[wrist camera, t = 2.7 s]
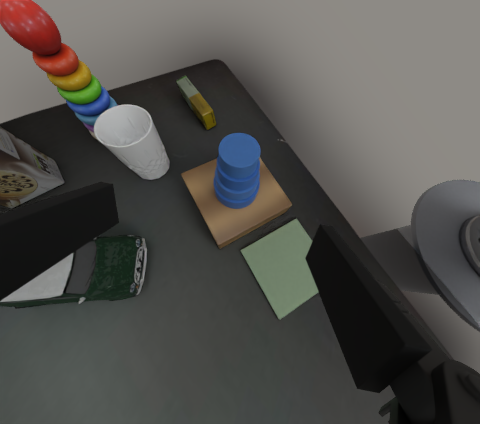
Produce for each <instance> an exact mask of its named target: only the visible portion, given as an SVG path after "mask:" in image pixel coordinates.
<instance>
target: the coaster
mask: <svg viewBox="0 0 480 424" xmlns="http://www.w3.org/2000/svg"><path fill="white" fill-rule="evenodd" d="M311 244H312V240H311V239H310V237H309V236H308V234H307V233H306V231H305V230H304V229H303V227H302V226H301V224H300V223H299V221H298V220H297V218H296V219H294V220H293V221H291V222H289V223H288V224H286V225H284V226H282V227H281V228H279V229H277V230H275V231H274V232H272V233H270V234H268V235H267V236H265V237H263V238H261V239H260V240H258V241H256V242H254V243H253V244H251V245H249V246H247V247H246V248H244V249H242V250H241V253H242V254H243V256H244V258H245V260H246V262H247V263H248V265H249V267H250V269H251V271H252V272H253V274H254V276H255V278H256V280H257V281H258V283H259V285H260V287H261V289H262V290H263V292H264V294H265V296H266V297H267V299H268V301H269V303H270V305H271V306H272V308H273V310H274V312H275V314H276V315H277V317H278V319H279V320H280V319H282V318H283V317H284V316H286V315H287V314H289V313H290V312H291V311H293V310H294V309H296V308H297V307H298V306H300V305H301V304H303V303H304V302H305V301H307V300H308V299H310V298H311V297H312V296H314V295H315V294H317V293H318V292H319V291H318V289H317V286H316V284H315V281H314V279H313V276H312V274H311V271H310V269H309V266H308V264H307V261H306V259H305V258H306V255H307V253H308V251H309V249H310V246H311Z"/></svg>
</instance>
